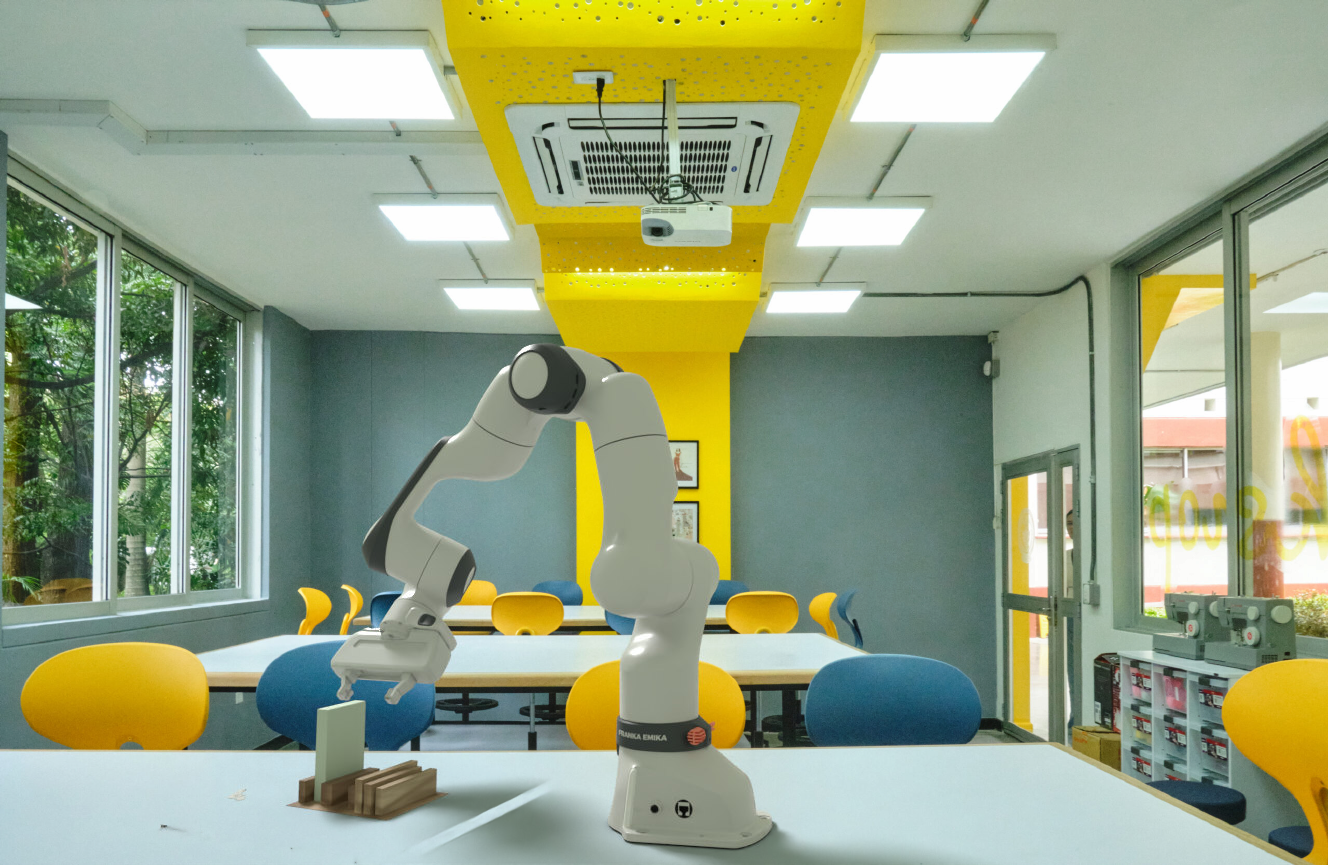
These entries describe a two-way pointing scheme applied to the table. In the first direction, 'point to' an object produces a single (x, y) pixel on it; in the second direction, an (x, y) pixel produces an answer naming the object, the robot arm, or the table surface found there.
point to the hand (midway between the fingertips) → (365, 699)
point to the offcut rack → (373, 791)
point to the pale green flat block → (339, 742)
